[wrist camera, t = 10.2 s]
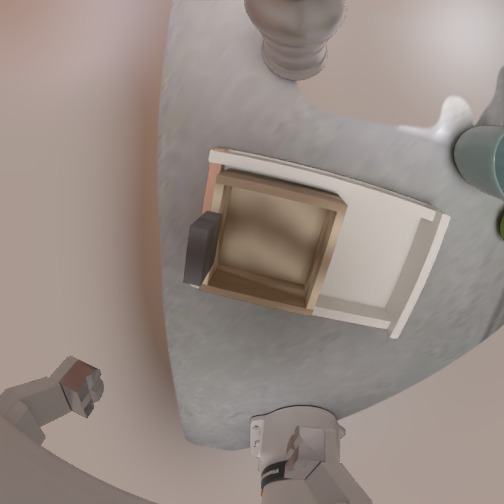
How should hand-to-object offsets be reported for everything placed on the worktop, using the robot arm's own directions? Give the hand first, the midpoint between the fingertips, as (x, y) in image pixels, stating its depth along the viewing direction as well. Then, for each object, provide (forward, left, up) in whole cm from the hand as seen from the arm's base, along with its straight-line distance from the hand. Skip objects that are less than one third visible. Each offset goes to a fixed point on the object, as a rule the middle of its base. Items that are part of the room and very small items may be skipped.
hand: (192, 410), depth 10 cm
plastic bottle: (+20, 0, -26) cm, 33 cm away
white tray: (0, -7, -26) cm, 27 cm away
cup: (+16, -24, -27) cm, 39 cm away
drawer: (0, -2, -25) cm, 25 cm away
